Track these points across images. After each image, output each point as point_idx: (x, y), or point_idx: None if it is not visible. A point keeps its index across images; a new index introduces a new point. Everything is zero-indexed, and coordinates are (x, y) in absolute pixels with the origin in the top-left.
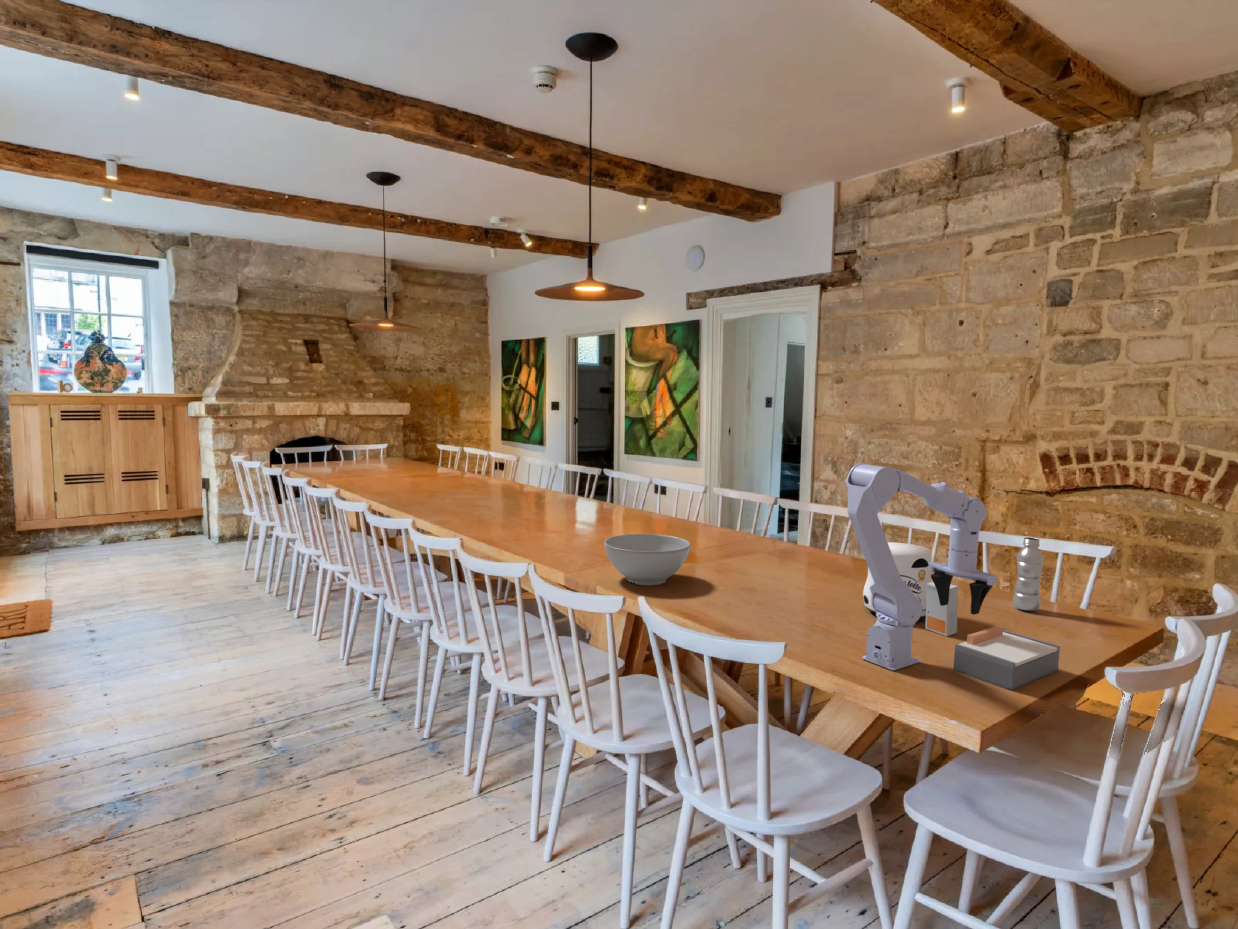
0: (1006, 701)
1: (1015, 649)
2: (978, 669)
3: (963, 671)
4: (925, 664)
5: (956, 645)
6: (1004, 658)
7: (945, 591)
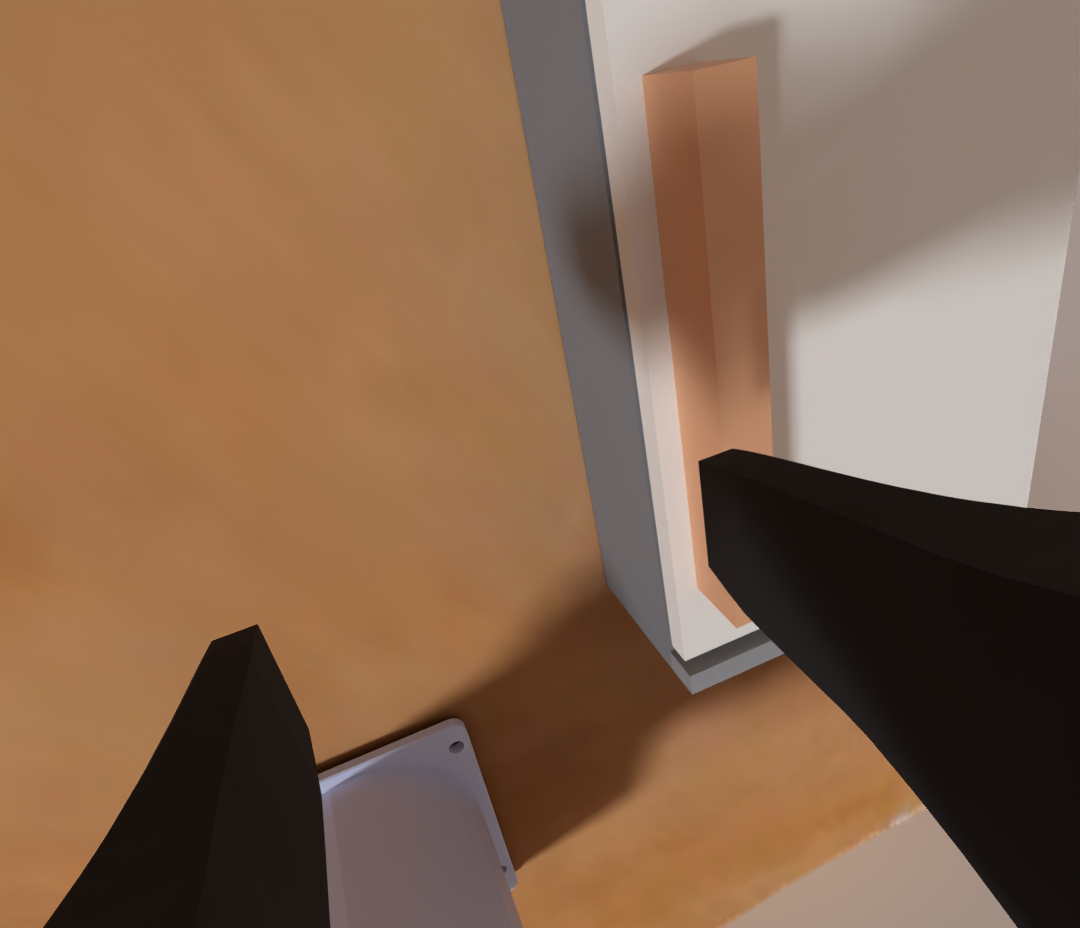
0: None
1: (938, 309)
2: None
3: None
4: (485, 690)
5: (698, 686)
6: None
7: (281, 885)
